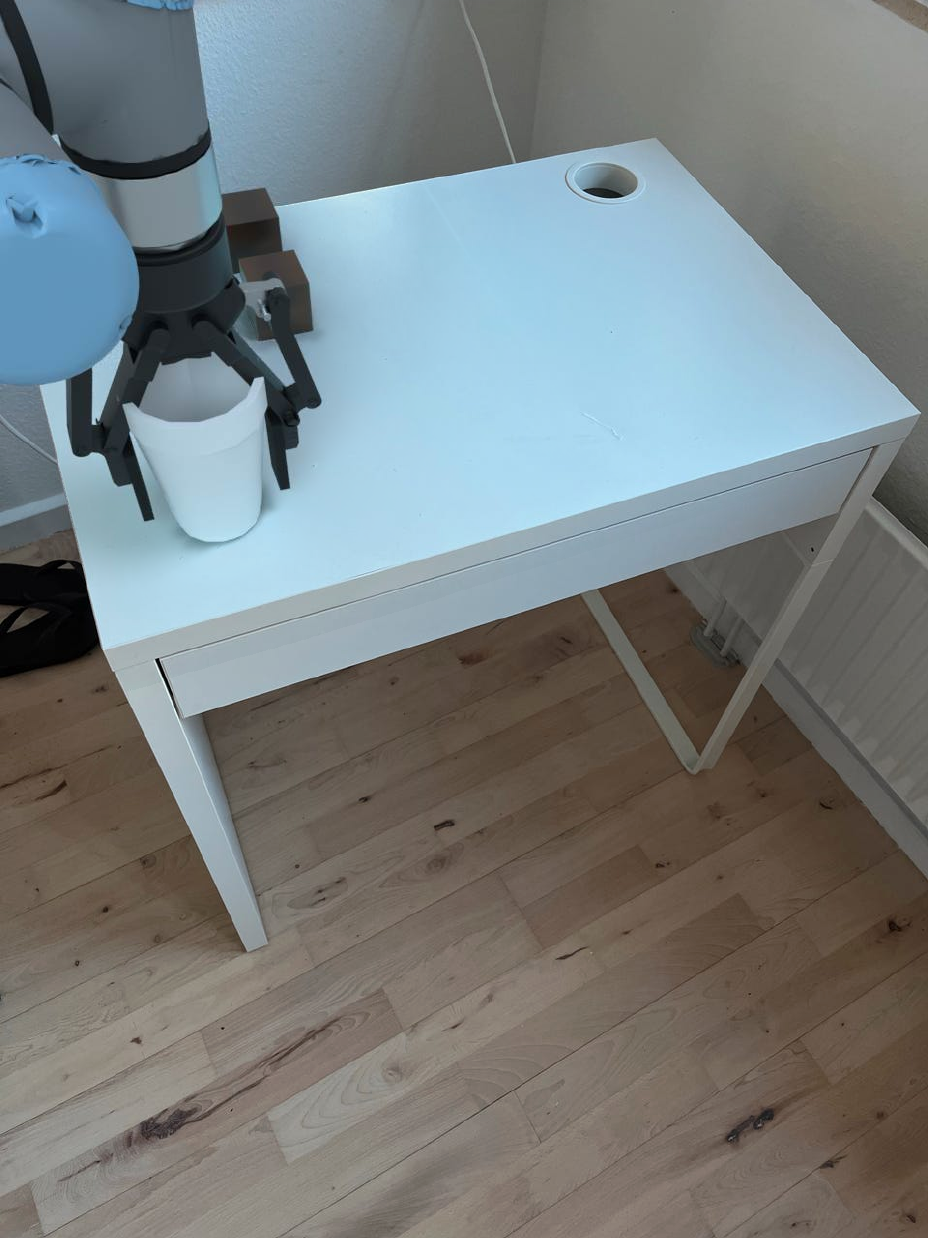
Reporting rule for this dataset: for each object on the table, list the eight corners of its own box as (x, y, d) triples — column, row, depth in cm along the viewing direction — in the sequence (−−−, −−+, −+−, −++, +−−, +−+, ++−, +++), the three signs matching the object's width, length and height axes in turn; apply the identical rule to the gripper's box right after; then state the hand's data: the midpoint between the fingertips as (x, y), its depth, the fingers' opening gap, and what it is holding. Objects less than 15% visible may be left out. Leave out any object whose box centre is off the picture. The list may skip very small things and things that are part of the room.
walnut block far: (232, 273, 88) (224, 225, 84) (220, 243, 91) (212, 195, 87) (284, 264, 90) (279, 217, 86) (271, 234, 92) (265, 186, 88)
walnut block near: (259, 340, 83) (252, 293, 79) (245, 306, 86) (237, 258, 82) (313, 330, 85) (309, 282, 81) (298, 296, 87) (293, 248, 83)
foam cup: (180, 575, 68) (142, 447, 57) (137, 490, 72) (95, 355, 62) (301, 530, 71) (286, 401, 61) (253, 451, 75) (231, 317, 65)
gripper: (328, 153, 56) (342, 427, 75) (-67, 207, 51) (53, 489, 69) (366, 223, 53) (371, 494, 71) (-56, 290, 47) (68, 565, 65)
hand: (214, 491), depth 70 cm, fingers closed on foam cup, 9 cm apart
